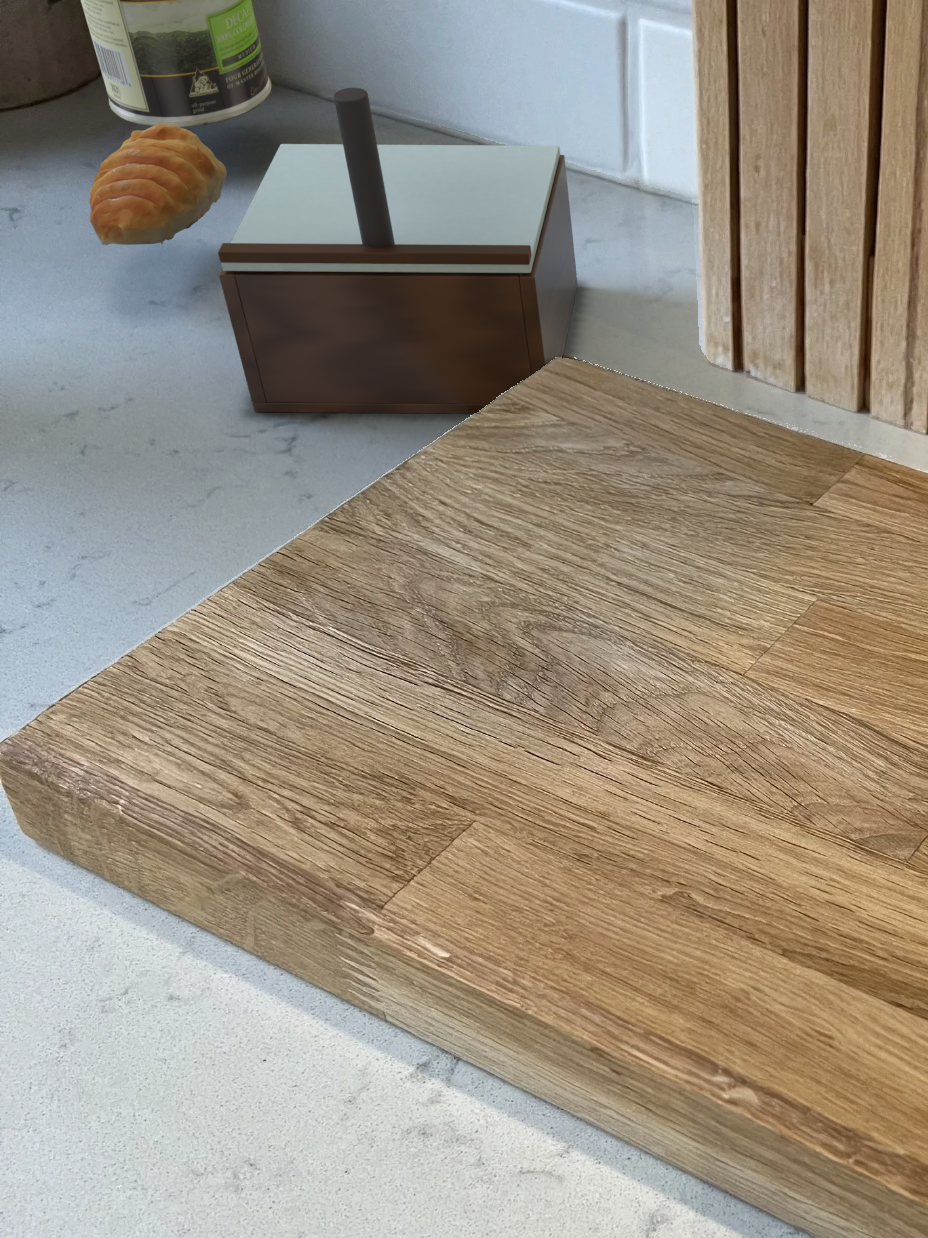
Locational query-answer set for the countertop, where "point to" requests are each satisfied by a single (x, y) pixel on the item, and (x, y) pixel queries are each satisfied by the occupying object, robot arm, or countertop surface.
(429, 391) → the case
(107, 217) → the pastry
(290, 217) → the glass door
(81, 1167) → the countertop surface
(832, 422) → the countertop surface
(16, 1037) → the countertop surface
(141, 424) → the countertop surface
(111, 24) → the coffee can
